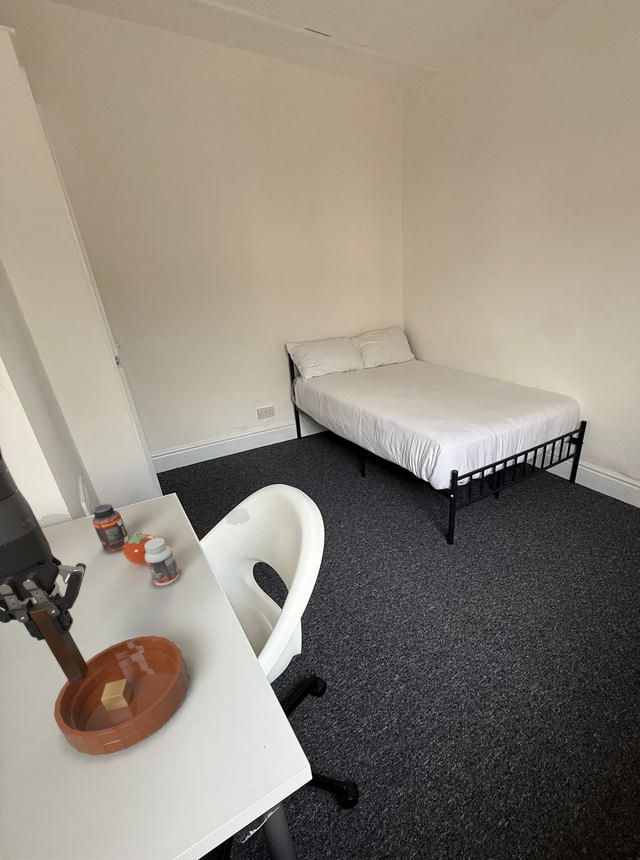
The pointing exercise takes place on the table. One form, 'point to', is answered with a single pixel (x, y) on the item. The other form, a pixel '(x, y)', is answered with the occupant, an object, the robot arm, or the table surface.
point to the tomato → (136, 548)
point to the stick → (60, 646)
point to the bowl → (149, 704)
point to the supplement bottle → (109, 528)
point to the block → (116, 695)
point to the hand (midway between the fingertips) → (54, 632)
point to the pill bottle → (160, 562)
